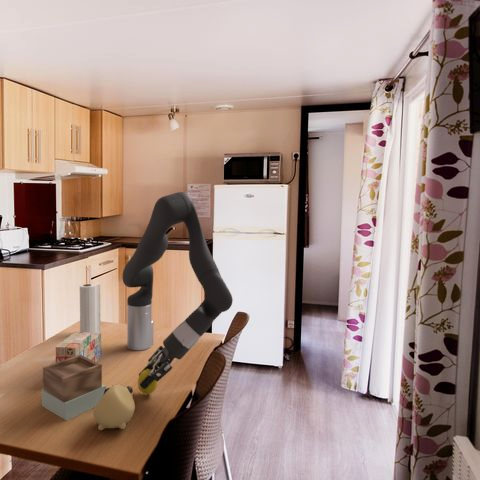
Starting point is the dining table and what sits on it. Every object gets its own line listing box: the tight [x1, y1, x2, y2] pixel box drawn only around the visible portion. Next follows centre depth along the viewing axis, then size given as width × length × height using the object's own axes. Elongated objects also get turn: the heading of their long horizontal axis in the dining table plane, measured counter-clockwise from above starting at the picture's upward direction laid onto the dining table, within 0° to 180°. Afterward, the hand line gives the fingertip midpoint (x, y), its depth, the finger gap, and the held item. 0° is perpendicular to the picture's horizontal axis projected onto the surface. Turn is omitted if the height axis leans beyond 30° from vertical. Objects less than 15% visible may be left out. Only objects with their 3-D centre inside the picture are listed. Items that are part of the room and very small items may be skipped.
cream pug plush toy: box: [92, 384, 136, 431], centre depth 97 cm, size 10×12×11 cm
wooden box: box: [42, 355, 103, 403], centre depth 105 cm, size 11×11×6 cm
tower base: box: [40, 383, 107, 421], centre depth 106 cm, size 12×12×5 cm
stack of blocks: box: [55, 332, 102, 363], centre depth 127 cm, size 21×6×12 cm, turn 179°
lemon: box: [137, 369, 158, 396], centre depth 112 cm, size 6×6×8 cm
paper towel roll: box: [79, 283, 102, 333], centre depth 160 cm, size 7×6×21 cm
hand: (141, 381), depth 111 cm, fingers closed on lemon, 5 cm apart
